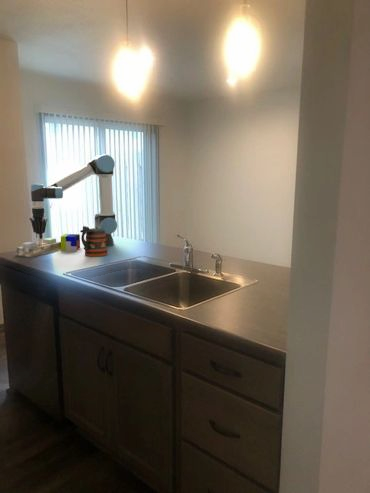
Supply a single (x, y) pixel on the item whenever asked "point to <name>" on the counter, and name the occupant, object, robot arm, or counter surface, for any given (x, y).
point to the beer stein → (94, 242)
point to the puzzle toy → (70, 242)
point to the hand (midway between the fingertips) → (39, 243)
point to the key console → (38, 249)
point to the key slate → (29, 245)
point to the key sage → (49, 240)
